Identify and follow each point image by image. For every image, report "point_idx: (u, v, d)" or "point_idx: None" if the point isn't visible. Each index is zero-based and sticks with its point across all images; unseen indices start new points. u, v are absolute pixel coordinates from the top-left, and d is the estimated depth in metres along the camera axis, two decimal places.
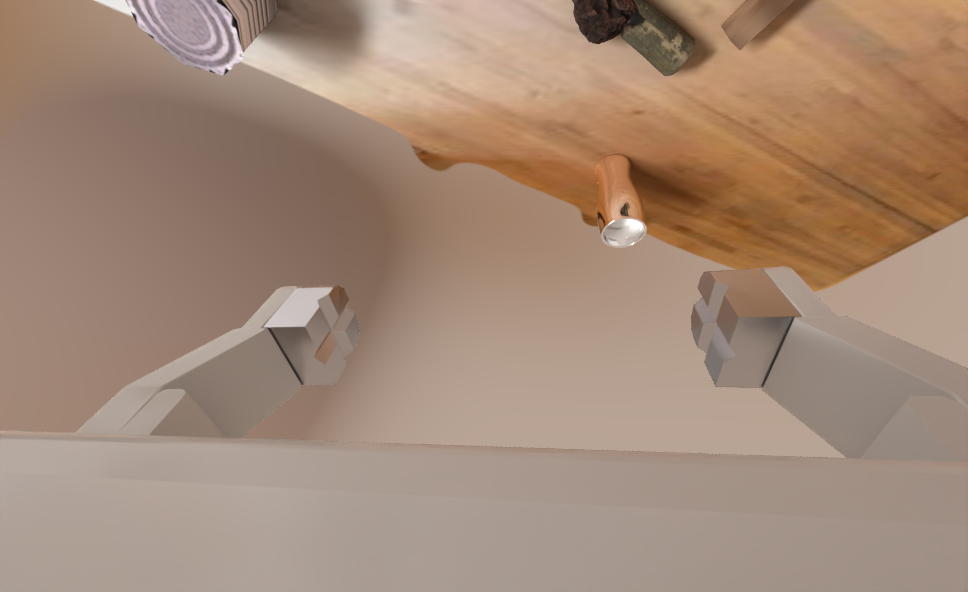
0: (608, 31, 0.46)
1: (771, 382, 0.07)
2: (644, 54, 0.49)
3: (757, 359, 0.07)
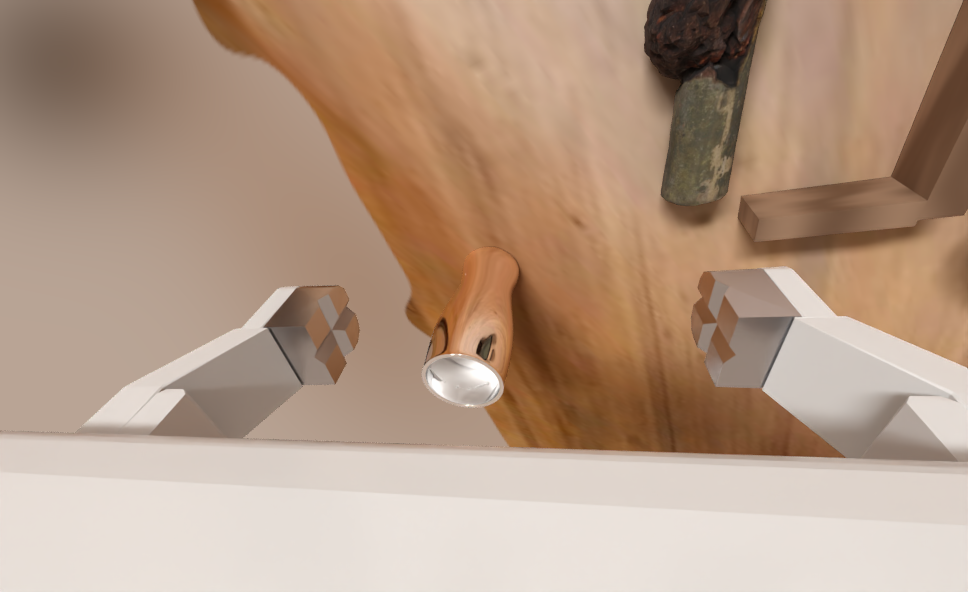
0: (695, 41, 0.23)
1: (770, 381, 0.07)
2: (680, 141, 0.28)
3: (757, 359, 0.07)
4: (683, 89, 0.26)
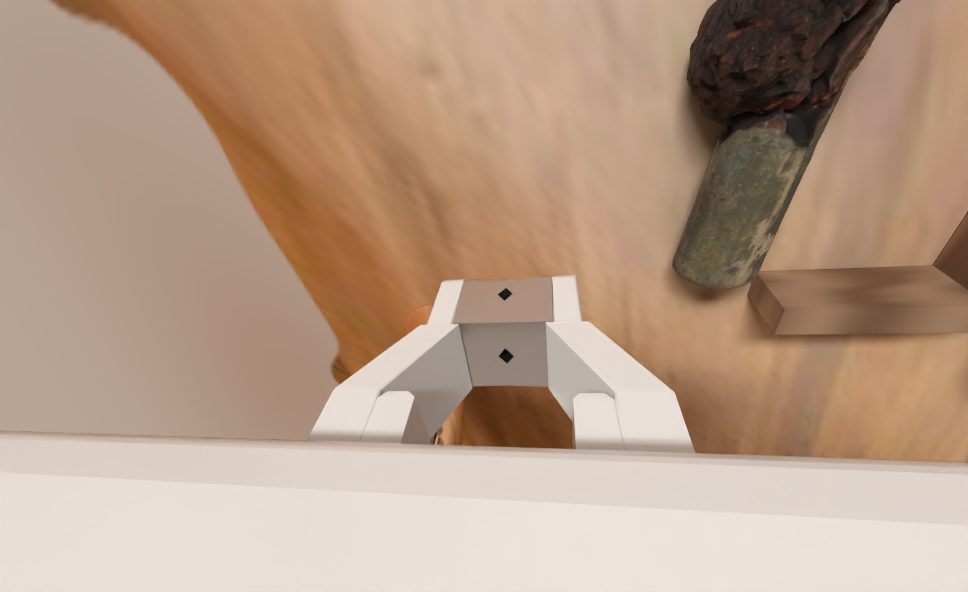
0: (776, 75, 0.15)
1: (554, 381, 0.08)
2: (716, 207, 0.20)
3: (534, 360, 0.08)
4: (734, 139, 0.19)
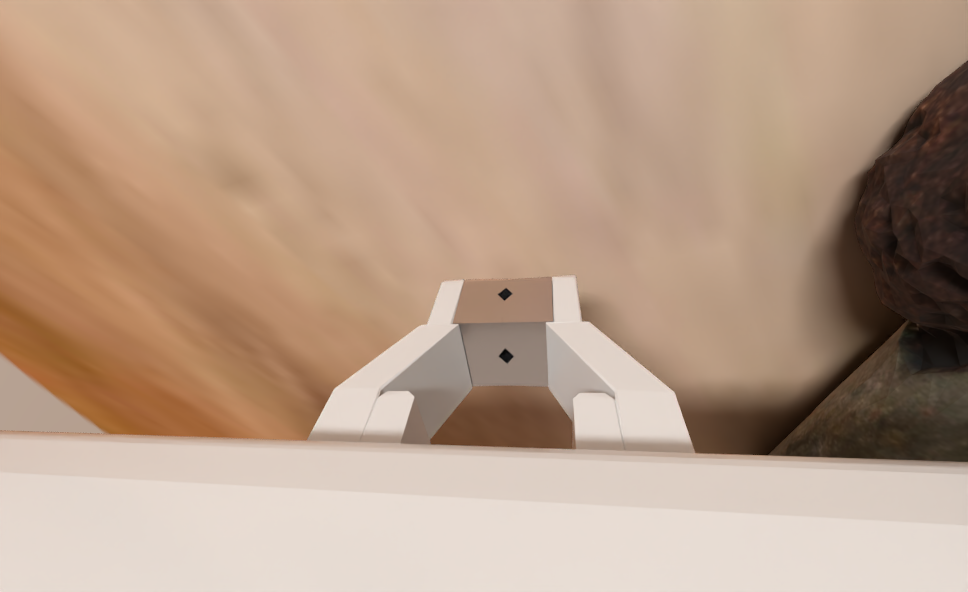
0: None
1: (553, 381, 0.08)
2: None
3: (534, 360, 0.08)
4: None
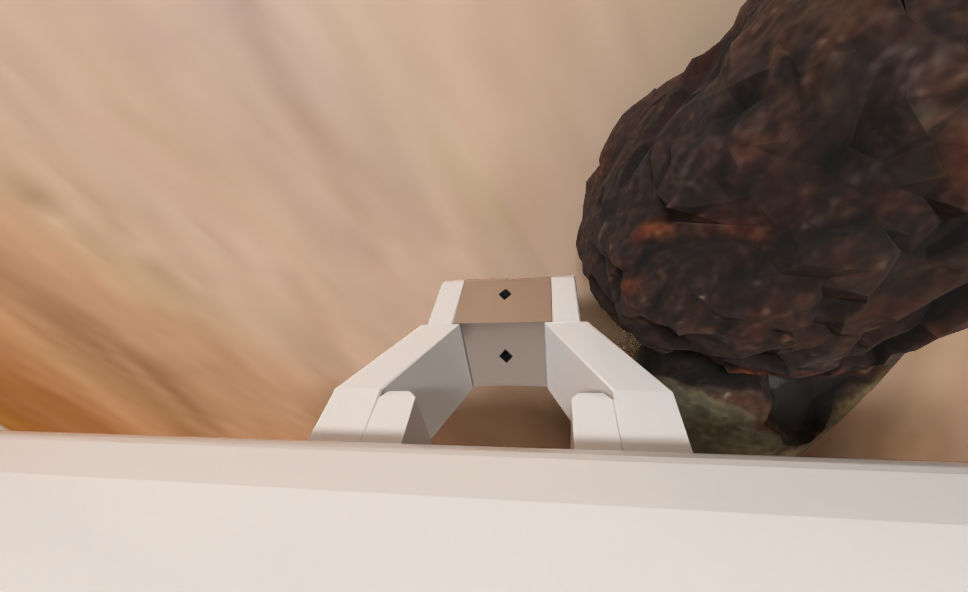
0: (759, 352, 0.06)
1: (553, 381, 0.08)
2: None
3: (533, 360, 0.08)
4: None
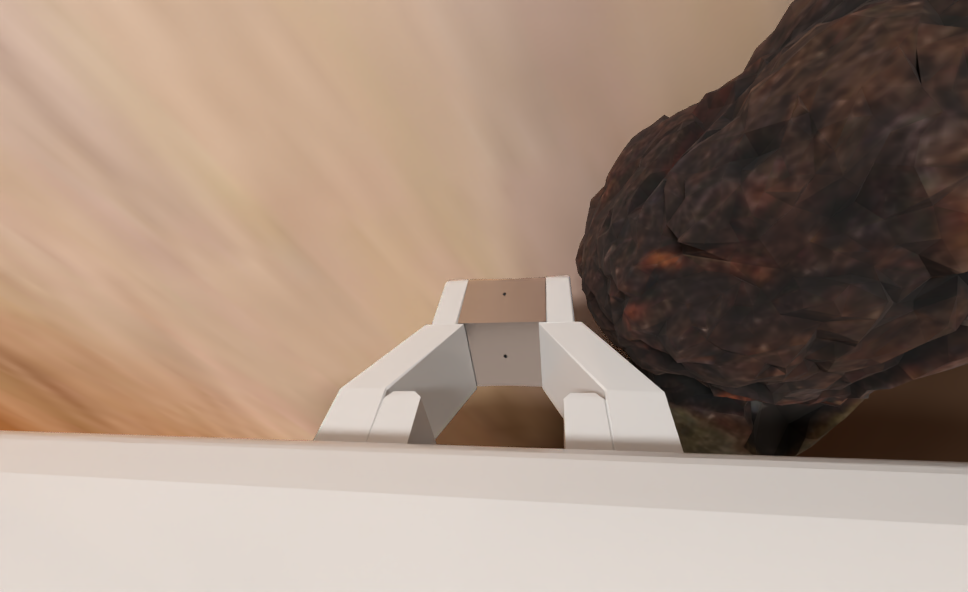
0: (750, 382, 0.06)
1: (547, 380, 0.08)
2: None
3: (528, 360, 0.08)
4: None
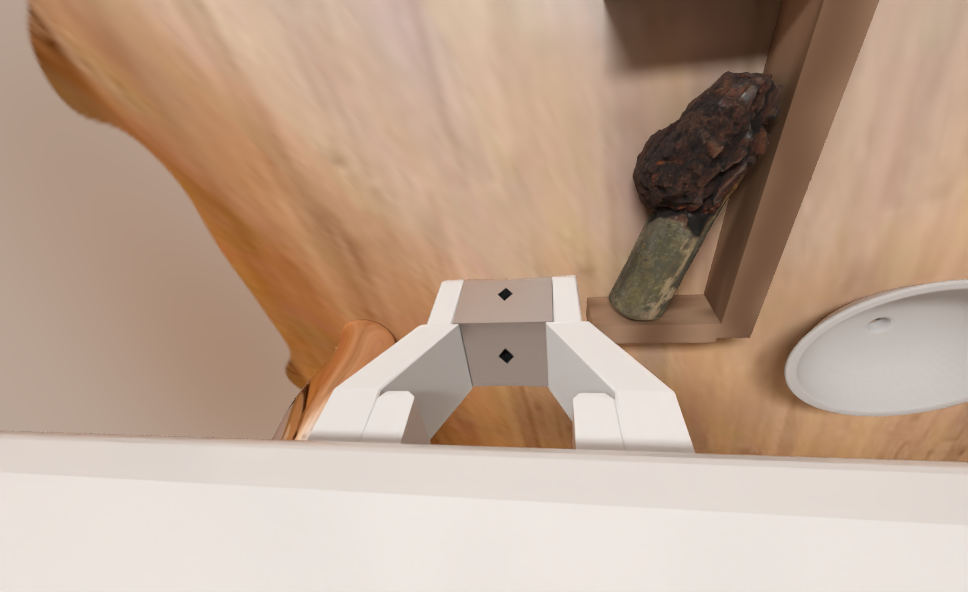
0: (682, 192, 0.25)
1: (553, 381, 0.08)
2: (641, 264, 0.30)
3: (534, 360, 0.08)
4: (656, 222, 0.28)
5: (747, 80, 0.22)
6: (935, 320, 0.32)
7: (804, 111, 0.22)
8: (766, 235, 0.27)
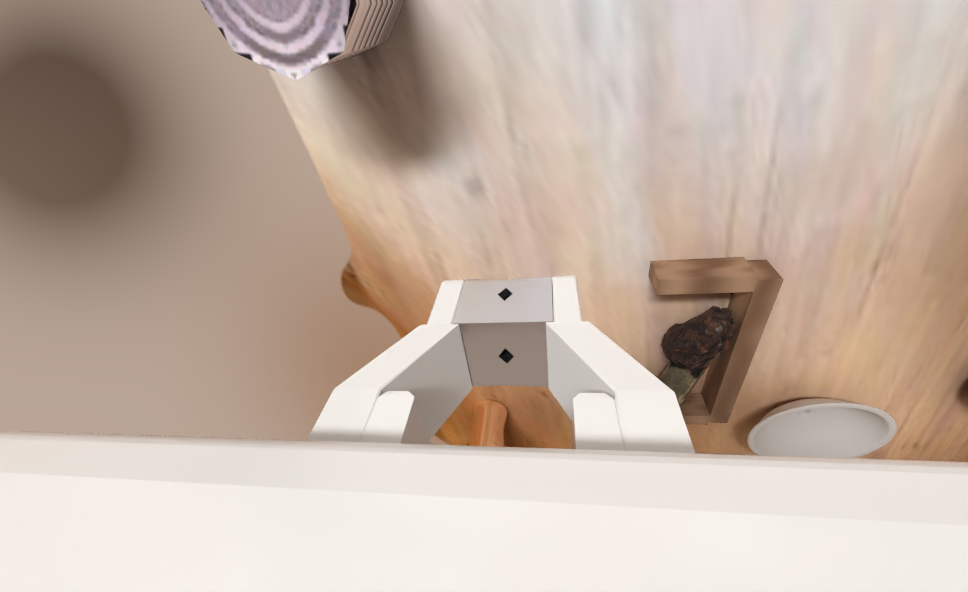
0: (688, 364, 0.49)
1: (553, 380, 0.08)
2: None
3: (534, 360, 0.08)
4: (674, 369, 0.52)
5: (718, 320, 0.46)
6: (834, 412, 0.56)
7: (746, 334, 0.46)
8: (732, 378, 0.51)
